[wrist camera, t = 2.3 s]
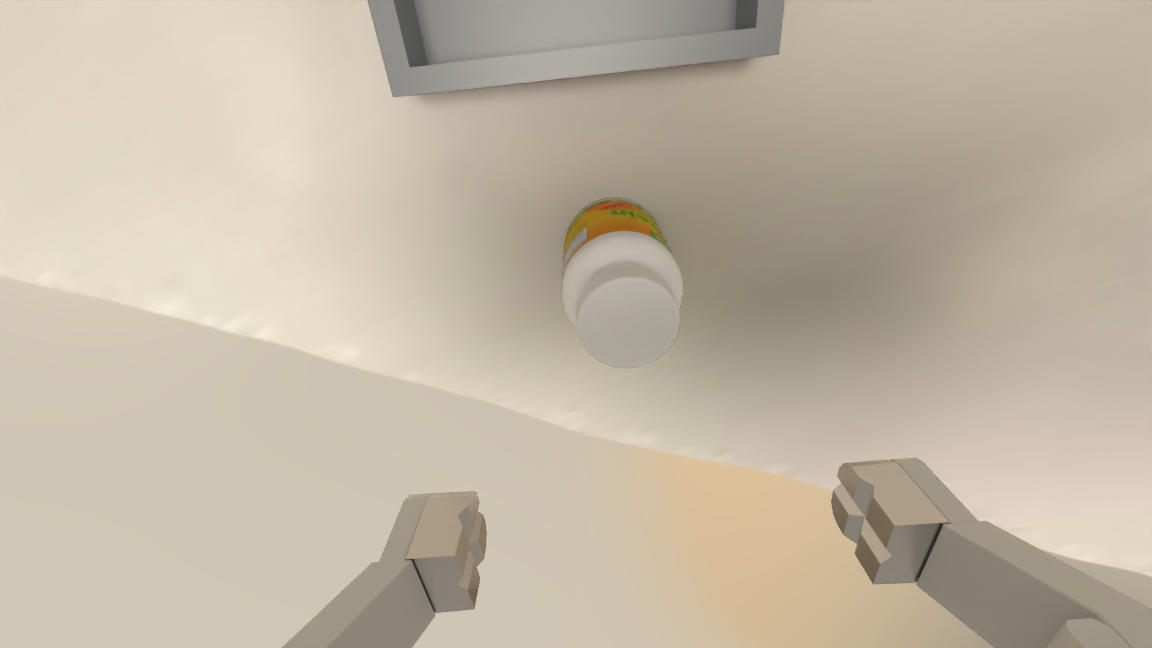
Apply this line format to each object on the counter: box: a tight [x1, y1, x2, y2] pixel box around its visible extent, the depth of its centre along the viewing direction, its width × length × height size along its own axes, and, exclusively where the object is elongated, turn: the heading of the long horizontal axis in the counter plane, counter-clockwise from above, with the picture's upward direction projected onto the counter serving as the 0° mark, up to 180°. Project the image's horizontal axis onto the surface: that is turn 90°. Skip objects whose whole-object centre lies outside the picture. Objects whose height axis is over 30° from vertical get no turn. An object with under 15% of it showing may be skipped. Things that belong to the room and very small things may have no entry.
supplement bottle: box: [561, 198, 683, 368], centre depth 21 cm, size 5×5×10 cm
